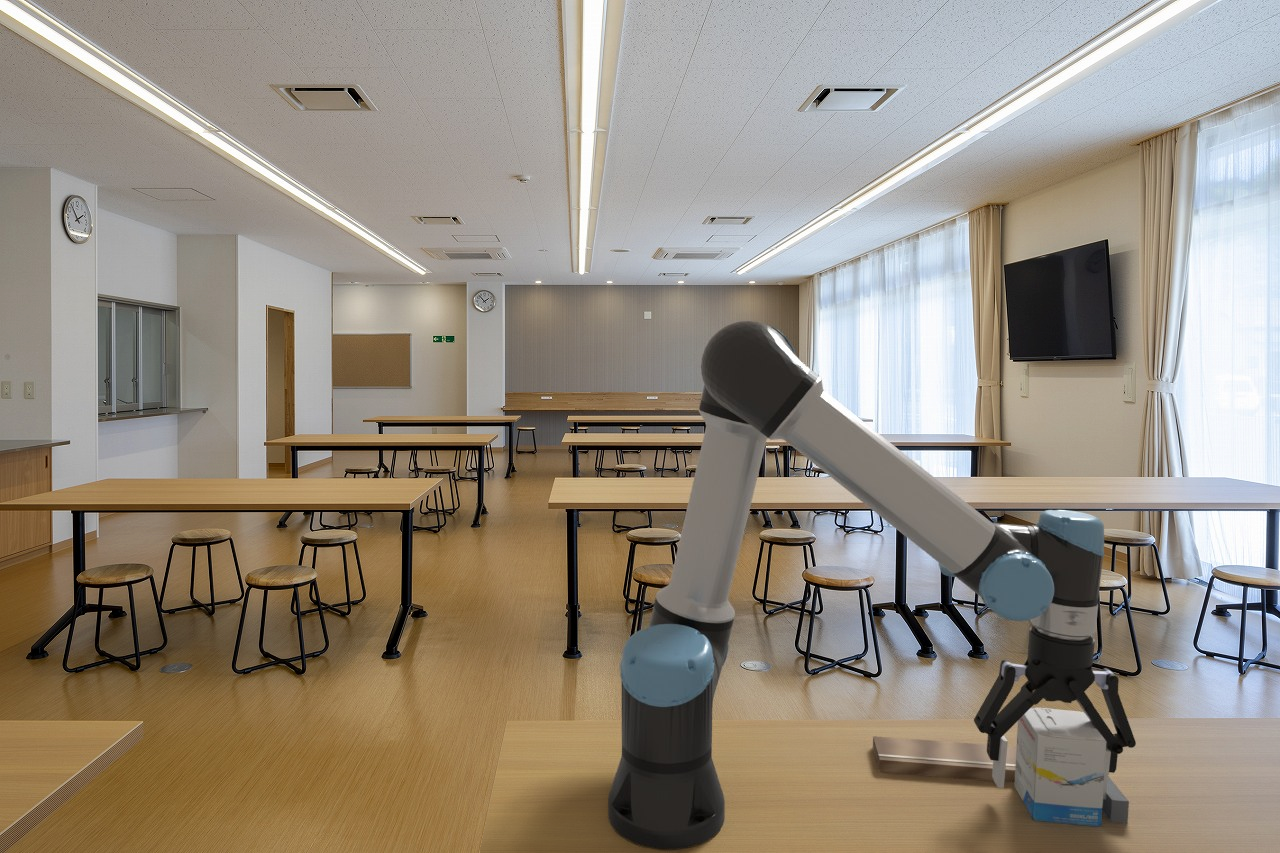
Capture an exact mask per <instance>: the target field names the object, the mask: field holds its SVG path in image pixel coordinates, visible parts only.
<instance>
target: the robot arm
mask: <svg viewBox="0 0 1280 853" xmlns="http://www.w3.org/2000/svg"><path fill="white" fill-rule="evenodd" d="M700 370H701V378H702V381H703V384H704V385H703V390H702V395H701V399H700V403H699V407H698V412H699V414H700V416H701V417H702V419H703V420H704V423H705V430H704V435H703V438H702V442H701V448H700V452H699V454H698V460H697V464H696V468H695V472H694V476H693V482H692V486H691V491H690V493H689V494H690V495H689V500H688V504H687V508H686V512H685V516H684V521H683V524H682V530H681V535H680V538H679V541H678V547H677V551H676V554H675V559H674V564H673V568H672V572H671V576H670V581H669V583H668V585H666V586H664V587H662V588H661V589H659V590H658V591H657V593H656V594H655V599H654V604H653V608H652V611H651V612H652V613H651V616H650V621H649V625H648V626H647V627H646V628H645V629H640V630H637V631H635V633H633V634H632V635H631V636H630V637H629V638H628V639H627V640H626V642H625V643H624V646H623V648H622V649H623V650H622V654H621V655H622V656H621V660H620V664H619V665H620V666H619V668H620V669H619V670H620V674H619V675H620V680H621V757H620V759H619V764H618V766H617V768H616V771H615V772H616V773H615V775H614V778H613V781H612V784H611V787H610V790H609V794H608V798H607V799H608V800H607V804H608V805H607V810H608V811H607V816H608V817H607V818H608V820H609V823H610V825H611V827H612V829H613V830H614V831H615V832H616V833H617V834H618V835H620V836H621V837H622V838H624V839H625V840H627V841H630V842H632V843H634V844H635V845H639V846H643V847H646V848H651V849H656V850H657V849H658V850H679V849H686V848H691V847H695V846H697V845H700V844H702V843H705V842H707V841H708V840H710V839H712V838H713V837H714V836H716V835H717V834H718V833H719V831H720V830H721V829H722V827H723V825H724V822H725V819H726V818H725V813H726V811H725V810H726V808H725V806H726V801H725V795H724V792H723V789H722V787H721V783H720V780H719V779H720V778H719V776H718V773H717V770H716V768H715V764H714V761H713V757H712V756H713V754H712V751H713V749H712V748H713V747H712V745H713V744H712V743H713V705H714V697H715V693H716V690H717V686H718V683H719V679H720V677H721V676H720V675H721V672H722V669H723V666H724V665H725V662H726V660H727V657H728V652H729V642H730V637H731V633H732V629H733V625H734V620H735V617H736V611H735V609H734V606H732V604H731V602H730V601H729V597H730V592H731V588H732V584H733V583H732V582H733V580H734V574H735V570H736V567H737V563H738V559H739V554H740V551H741V547H742V546H741V545H742V542H743V538H744V534H745V531H746V527H747V521H748V517H749V514H750V511H751V510H750V509H751V505H752V500H753V497H754V493H755V489H756V485H757V481H758V478H759V477H758V476H759V473H760V468H761V464H762V459H763V457H764V452H765V448H766V443H767V440H774V441H775V440H783V441H785V442H786V443H787V444H789V446H791V447H793V449H795V450H796V451H797V452H798V453H800V454H801V455H802V456H803V457H805V458H806V459H807V460H809V461H810V462H811V463H813V464H814V465H815V466H816V467H817V468H818V469H820V470H821V471H823V472H824V473H825V474H826V475H828V476H829V477H830V478H831V479H833V480H834V482H837V483H838V484H839V485H840V486H841V487H843V488H844V489H845V490H847V491H848V492H849V493H850V494H851V495H853V497H856V498H857V499H858V500H859V501H861V502H862V503H863V504H864V505H865V506H867V507H868V508H869V509H870V510H872V511H873V512H874V513H876V514H877V515H878V516H879V517H880V518H882V519H883V520H884V521H886V522H887V523H888V524H890V525H891V526H892V527H893V528H895V529H896V530H897V531H899V532H900V534H902V535H903V536H905V537H906V538H907V539H908V540H910V541H911V542H912V543H913V544H915V545H916V546H917V547H918V548H920V549H921V550H922V551H924V553H926V554H927V555H928V556H929V557H931V558H932V559H934V560H935V561H936V562H938V567H939V570H940V572H941V574H942V575H944V576H947V577H953V578H957V579H958V580H960V582H962V583H963V584H964V585H965V586H967V587H968V588H969V589H970V590H971V591H972V592H974V593H975V594H977V595H978V596H979V597H980V598H981V600H982V602H983V603H984V605H985V606H986V607H987V608H989V609H990V610H992V611H993V613H995V614H996V615H997V616H1000V617H1001V618H1003V619H1006V620H1008V621H1013V622H1026V621H1030V623H1031V624H1032V626H1030V627H1029V632H1028V645H1027V657H1026V661H1025V662H1024V664H1020V663H1012V662H1010V661H1009V659H1003V660H1001V662H1000V664H999V671H998V676H997V678H996V680H995V682H994V683H993V685H992V687H991V688H990V690H989V692H988V694H987V696H986V697H985V699H984V700H983V702H982V704H981V706H980V708H979V710H978V711H977V712H976V715H975V716H974V718H973V722H974V724H975V725H976V728H977V729H978V730H979V732H980V734H981V733H982V734H987V741H986V742H987V743H986V745H987V754H988V756H989V758H990V760H993V769H992V778H993V780H994V781H993V782H994V783H995V785H996V787H997V788H999V789H1005V788H1004V787H1005V782H1004V779H1005V768H1006V756H1007V746H1008V743H1009V742H1008V741H1009V740H1007V738H1006V735H1005V734H1006V733H1007V732H1008V731H1009V730H1010V729H1011V728H1012V727H1013V726H1014V725H1015V724H1016V723H1018V720H1019V719H1020V718H1021V717H1022V716H1023V715H1024V714H1025V713H1026V712H1027V711H1028V710H1029V709H1030V708H1033V706H1036V705H1038V704H1039V703H1040V702H1041V701H1042V700H1043V699H1044V700H1045V702H1063V703H1065V704H1066V703H1067V704H1072V702H1075V701H1076V702H1077V703H1078V706H1080V708H1081V709H1082V712H1084V713H1085V714H1086V716H1087V717H1088V718H1089V720H1090V721H1091V722H1092V723H1093V725H1094V726H1095V727H1096V729H1097V730H1098V731H1099V733H1100V734H1101V735H1102V736H1103V738H1104V739H1105V740H1106V756H1105V771H1104V786H1103V799H1106V793H1107V785H1108V776H1109V774H1110V773H1113V774H1115V773H1116V770H1117V767H1118V766H1117V765H1118V755H1120V754H1122V753H1123V751H1124V748H1126V747H1128V748H1130V749H1133V748H1135V747H1136V744H1137V743H1136V739H1135V735H1134V734H1133V731H1132V728H1131V726H1130V722H1129V720H1128V717H1127V714H1126V711H1125V709H1124V706H1123V703H1122V700H1121V697H1120V694H1119V677H1118V676H1117V675H1116V674H1114V673H1113V671H1112V670H1110V669H1109V668H1106V667H1105V668H1102V669H1101V670H1093V668H1092V666H1093V663H1094V655H1095V644H1096V640H1095V638H1094V637H1093V635H1094V634H1096V631H1097V621H1098V620H1097V618H1098V610H1099V593H1100V586H1101V577H1102V569H1103V561H1104V557H1105V526H1104V523H1103V521H1102V520H1101V519H1099V517H1097V516H1095V515H1093V514H1089V513H1086V512H1080V511H1075V510H1066V509H1054V510H1053V509H1048V510H1047V509H1046V510H1044V511H1042V512H1040V514H1039V516H1038V517H1039V518H1038V519H1039V520H1038V521H1037V522H1036V523H1037V524H1030V525H1026V524H1024V525H1023V524H1009V523H1000V522H999V523H998V522H992V521H990V520H989V519H988V518H986V517H985V515H983V514H981V513H980V512H979V511H978V510H976V509H975V508H974V507H973V506H972V505H970V504H969V503H968V502H966V501H965V500H964V499H962V498H961V497H960V496H959V495H958V494H956V493H955V492H954V491H952V490H951V489H950V488H948V487H947V486H946V485H944V484H943V483H942V482H941V481H939V480H938V479H937V478H936V477H934V476H933V475H932V474H931V473H930V472H928V471H927V470H925V469H924V468H923V467H922V466H920V465H919V464H918V463H917V462H915V461H914V460H913V459H912V458H910V457H909V456H908V455H907V454H905V453H904V452H903V451H901V450H900V449H898V448H897V447H896V446H895V445H894V444H893V443H891V442H890V441H889V440H887V438H885V437H884V436H882V435H881V434H880V433H878V432H877V431H876V430H875V429H873V428H872V427H871V426H870V425H869V424H867V423H866V422H864V421H863V420H862V419H861V418H859V417H858V416H857V415H856V414H855V413H853V412H852V411H851V410H850V409H848V408H847V407H846V406H844V405H843V404H841V403H840V402H839V401H838V400H837V399H835V398H834V397H833V396H831V395H830V394H829V393H828V392H826V391H825V390H824V387H823V386H824V385H823V379H822V377H821V376H820V375H818V374H817V373H816V372H815V371H813V369H811V368H810V367H809V366H808V365H806V364H805V362H803V361H802V359H800V358H799V357H798V356H797V355H796V352H795V349H794V346H793V345H792V343H791V341H790V340H789V339H788V337H787V336H786V335H785V334H783V333H782V332H781V331H780V330H779V329H777V328H776V327H774V326H770V325H768V324H765V323H762V322H758V321H752V320H743V321H736V322H733V323H729V324H728V325H725V326H724V327H723V328H721V329H720V330H718V331H717V332H716V333H715V334H713V336H712V337H711V338H710V339H709V340H708V342H707V344H706V346H705V348H704V350H703V353H702V356H701V362H700ZM1023 675H1024V676H1025V678H1026V679H1027V681H1026V682H1025V683H1023V685H1022V686H1021V687H1020V691H1018V693H1017V694H1016V695H1015V696H1014V697H1013V698H1012V699H1011V700H1010V701H1009V702H1008V703H1007V704H1006V705H1005V706H1004V707H1003V705H1004V703H1005V702H1006V699H1007V698H1008V696H1009V694H1010V693H1011V691H1012V689H1013V687H1014V684H1015V682H1018V681H1020V680H1019V679H1020V678H1021V676H1023ZM1094 682H1095V683H1096V685H1097V687H1099V688H1100V689H1101V693H1102V695H1103V698H1104V702H1105V703H1106V706H1107V709H1108V710H1107V711H1108V712H1109V715H1110V718H1111V720H1112V723H1113V725H1114V729H1115V731H1116V733H1112V732H1113V731H1111V729H1110V728H1109V726H1108V725H1107V724H1106V722H1105V721H1104V719H1103V718H1102V717H1101V715H1100V713H1099V711H1098V710H1097V709H1096V707H1095V706H1094V704H1093V702H1092V701H1091V699H1090V698H1089V697H1088V695H1087V694H1086V691H1087V690H1088V688H1090V687H1091V686H1092V684H1094ZM1002 707H1003V708H1002Z"/></svg>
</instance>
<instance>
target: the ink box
mask: <svg viewBox="0 0 1280 853" xmlns="http://www.w3.org/2000/svg"><path fill="white" fill-rule="evenodd" d="M1016 732H1017V733H1016V746H1015V747H1016V765H1015V783H1014V782H1013V784H1014V788H1015V790H1016V791H1017V793H1018V795H1019V797H1020V799H1021V800H1022V803H1023V804H1024V806H1025V807H1026V809H1027V811H1028V812H1029V814H1030V816H1031V818H1032V819H1033V821H1034V822H1035V821H1036V822H1037V821H1039V822H1049V823H1058V824H1067V825H1069V824H1070V825H1077V826H1078V825H1079V826H1089V827H1090V826H1091V827H1102V819H1103V811H1102V805H1103V786H1104V771H1105V756H1106V740H1105V739H1104V738H1103V736H1102V735H1101V734H1100V733H1099V731H1098V730H1097V729H1096V727H1095V726H1094V725H1093V723H1092V722H1091V721H1090V720H1089V718H1088V717H1087V715H1086V714H1085V712H1084V711H1079V710H1078V711H1077V710H1069V709H1067V710H1066V709H1057V708H1048V707H1031V708H1030V709H1029V710H1028V711H1027V712H1026V713H1025V714H1024V715H1023V716H1022V717H1021V718H1020V719H1019V720H1018V721H1017V731H1016Z"/></svg>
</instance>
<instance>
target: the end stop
mask: <svg viewBox="0 0 1280 853" xmlns="http://www.w3.org/2000/svg"><path fill="white" fill-rule="evenodd" d="M1129 804H1130V802H1129V800H1128V799H1127V796H1125V794H1123V792H1122V791H1121V790H1120V788H1119V787H1118V786H1117V785H1116V784H1115V782H1114V781H1113V780H1112V779H1111V778H1110V776H1109V775H1108V785H1107V793H1106V799H1103V805H1102V814H1104V815H1105V817H1106V818H1107V819H1108V821H1109V822H1110V823H1114V824H1125V825H1126V824H1129V823H1128V822H1129V820H1128V819H1129V808H1130V807H1129Z"/></svg>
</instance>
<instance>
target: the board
mask: <svg viewBox="0 0 1280 853" xmlns="http://www.w3.org/2000/svg"><path fill="white" fill-rule="evenodd" d="M1016 747H1017V746H1012V745H1007V756H1006V768H1005V779H1004V783H1013V784H1014V783H1015V765H1016ZM872 751H873V754H874V757H875V760H876V764H877V768H878V771H879V773H890V774H891V773H892V774H903V775H916V776H925V777H926V776H927V777H941V778H954V779H964V780H965V779H966V780H967V779H968V780H977V781H990V782H995V781H994V780H993V778H992V769H993V760H990V758H989V756H988V754H987V743H985V744H983V743H973V742H972V743H970V742H969V743H968V742H959V741H958V742H957V741H945V740H944V741H943V740H931V739H930V740H929V739H914V738H901V737H891V736H890V737H887V736H877V735H876V736H874V735H873V736H872Z"/></svg>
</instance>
